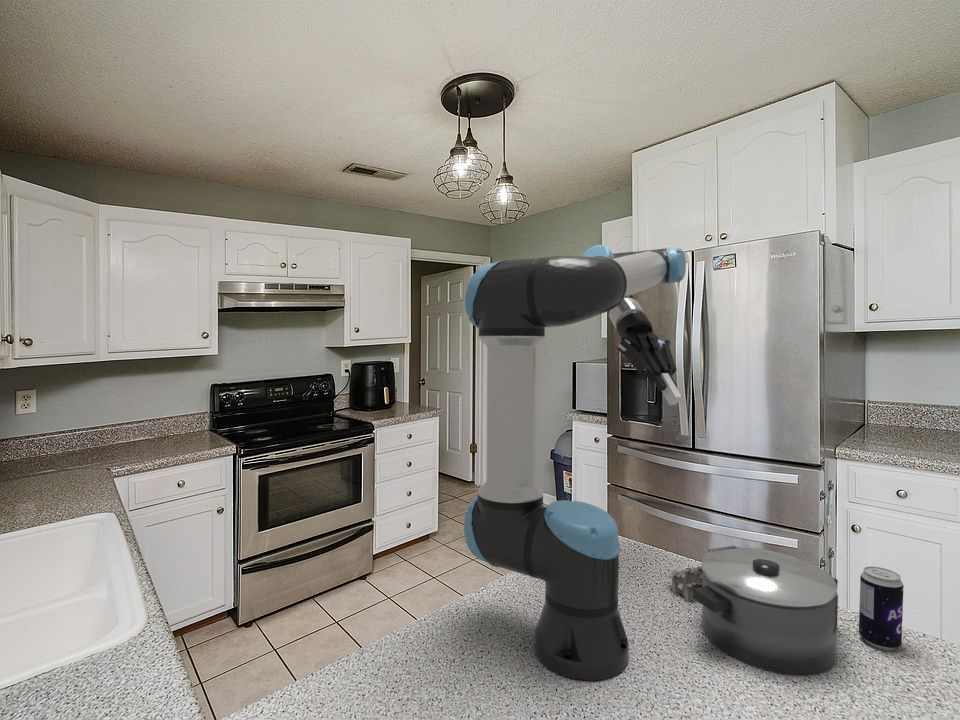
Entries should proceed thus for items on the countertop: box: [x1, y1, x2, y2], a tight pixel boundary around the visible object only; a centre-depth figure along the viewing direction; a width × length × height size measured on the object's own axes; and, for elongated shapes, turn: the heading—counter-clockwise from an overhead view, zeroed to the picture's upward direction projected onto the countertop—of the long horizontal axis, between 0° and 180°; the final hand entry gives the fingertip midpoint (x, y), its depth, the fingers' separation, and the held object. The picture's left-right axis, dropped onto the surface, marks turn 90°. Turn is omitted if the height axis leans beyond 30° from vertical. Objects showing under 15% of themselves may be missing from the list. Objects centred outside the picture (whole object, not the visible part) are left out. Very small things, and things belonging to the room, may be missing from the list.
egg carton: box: [667, 565, 703, 603], centre depth 104 cm, size 11×8×4 cm
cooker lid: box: [701, 545, 838, 609], centre depth 88 cm, size 20×20×2 cm
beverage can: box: [858, 565, 905, 651], centre depth 86 cm, size 6×6×12 cm
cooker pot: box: [693, 573, 839, 676], centre depth 88 cm, size 26×20×10 cm
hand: (675, 401), depth 107 cm, fingers closed
